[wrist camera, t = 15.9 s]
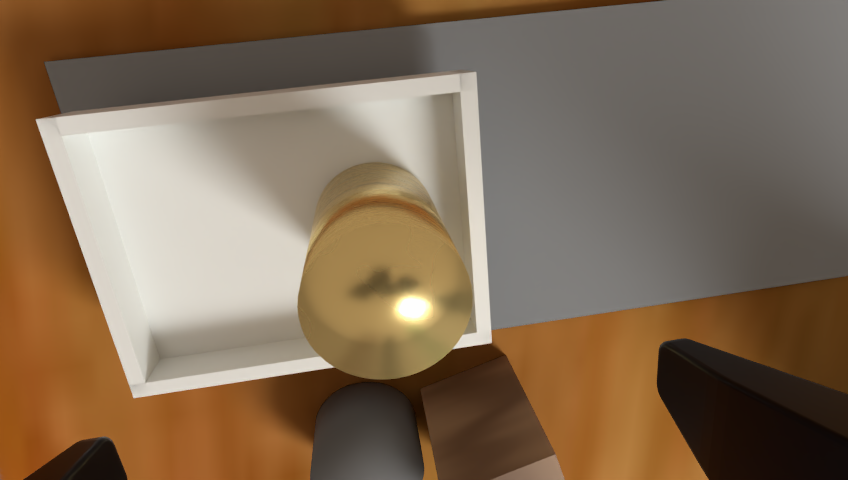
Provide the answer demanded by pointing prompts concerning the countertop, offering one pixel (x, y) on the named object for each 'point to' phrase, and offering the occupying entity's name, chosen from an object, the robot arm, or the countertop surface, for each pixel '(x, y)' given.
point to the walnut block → (487, 427)
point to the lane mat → (595, 138)
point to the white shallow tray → (249, 213)
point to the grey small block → (367, 436)
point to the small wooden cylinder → (381, 276)
